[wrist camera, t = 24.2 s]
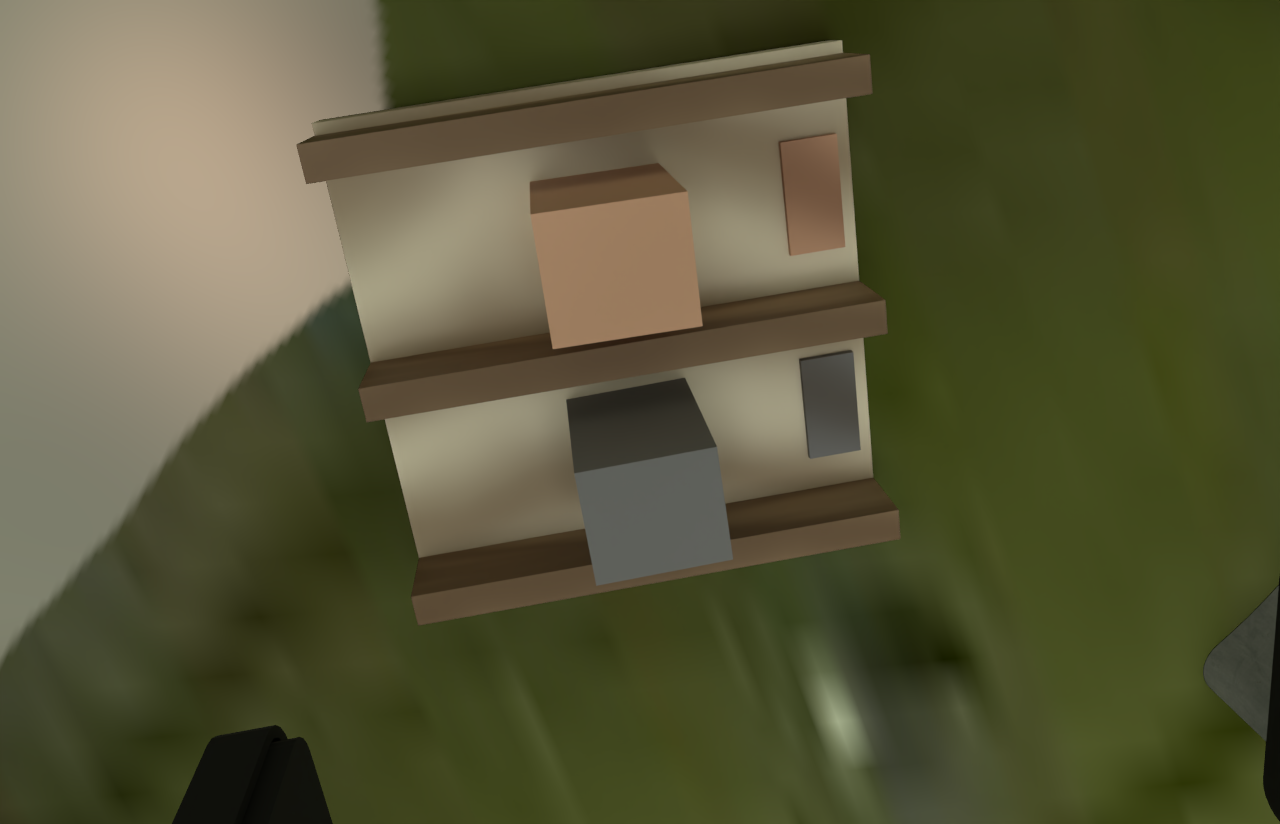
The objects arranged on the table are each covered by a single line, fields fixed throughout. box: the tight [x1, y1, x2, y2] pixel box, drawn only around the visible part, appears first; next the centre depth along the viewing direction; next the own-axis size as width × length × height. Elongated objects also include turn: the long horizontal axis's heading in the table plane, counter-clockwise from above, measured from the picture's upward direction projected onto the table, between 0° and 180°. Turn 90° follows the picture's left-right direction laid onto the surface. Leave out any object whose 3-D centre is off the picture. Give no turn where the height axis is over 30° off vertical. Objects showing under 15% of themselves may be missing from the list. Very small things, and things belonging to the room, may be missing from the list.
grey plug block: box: [566, 378, 733, 586], centre depth 36 cm, size 4×4×7 cm
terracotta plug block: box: [530, 163, 703, 349], centre depth 34 cm, size 4×4×7 cm
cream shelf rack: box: [297, 40, 900, 625], centre depth 38 cm, size 18×18×4 cm
